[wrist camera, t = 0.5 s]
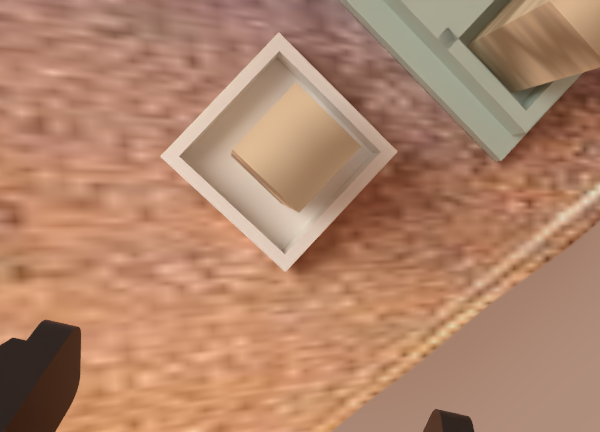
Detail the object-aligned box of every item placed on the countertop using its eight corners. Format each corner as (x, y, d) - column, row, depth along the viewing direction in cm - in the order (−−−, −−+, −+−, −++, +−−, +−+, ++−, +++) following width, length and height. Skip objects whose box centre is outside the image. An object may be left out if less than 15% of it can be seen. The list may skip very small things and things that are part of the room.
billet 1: (230, 156, 37) (232, 149, 28) (279, 104, 38) (298, 79, 28) (280, 203, 38) (299, 212, 28) (328, 152, 38) (363, 144, 28)
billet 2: (466, 45, 38) (549, 0, 28) (512, -4, 39) (611, -66, 29) (511, 93, 39) (607, 65, 29) (556, 44, 39) (667, 0, 29)
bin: (164, 157, 37) (160, 156, 35) (275, 41, 38) (278, 32, 35) (281, 265, 39) (285, 271, 36) (387, 153, 39) (397, 151, 37)
